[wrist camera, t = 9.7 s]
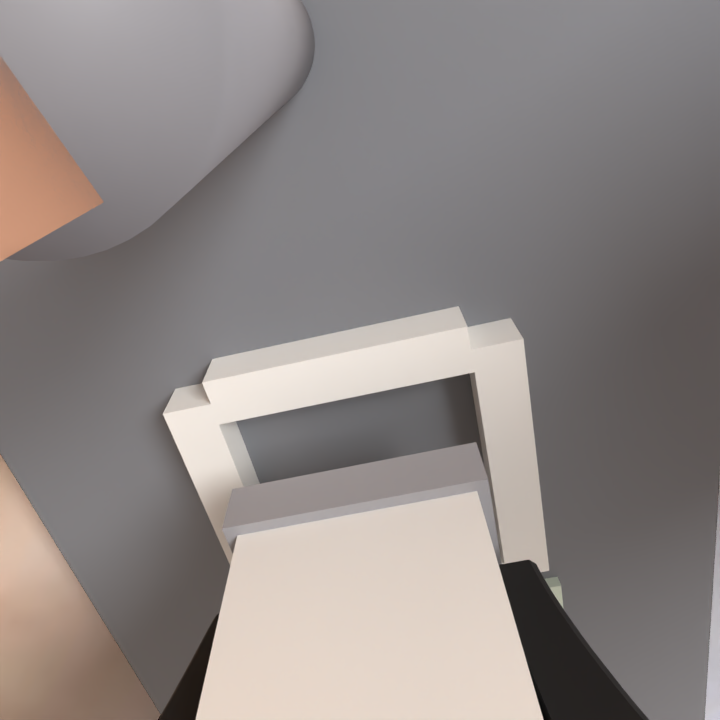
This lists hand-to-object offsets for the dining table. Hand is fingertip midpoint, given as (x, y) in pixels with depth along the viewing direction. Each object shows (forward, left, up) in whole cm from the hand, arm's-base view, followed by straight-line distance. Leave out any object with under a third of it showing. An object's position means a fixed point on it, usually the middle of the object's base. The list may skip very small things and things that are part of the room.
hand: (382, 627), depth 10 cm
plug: (0, 0, -2) cm, 2 cm away
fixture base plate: (0, 0, -5) cm, 5 cm away
